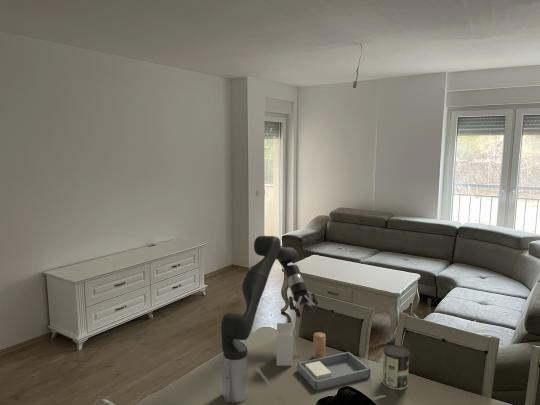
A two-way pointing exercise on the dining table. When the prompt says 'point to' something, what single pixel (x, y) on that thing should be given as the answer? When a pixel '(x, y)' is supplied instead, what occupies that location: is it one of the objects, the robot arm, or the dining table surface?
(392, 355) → the coffee can
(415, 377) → the dining table surface
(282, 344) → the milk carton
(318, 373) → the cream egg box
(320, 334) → the terracotta jar
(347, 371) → the tray
